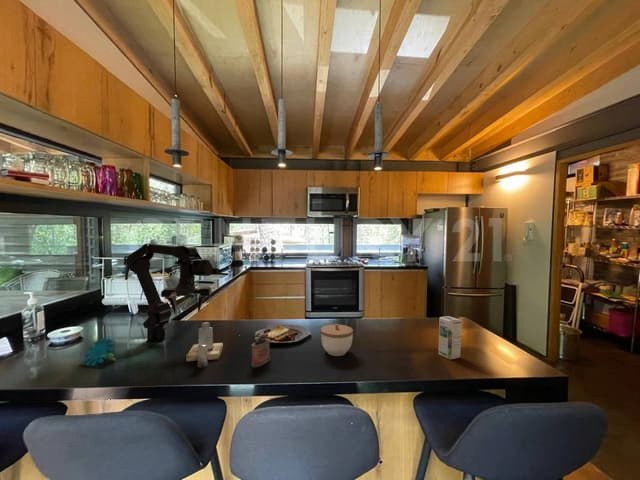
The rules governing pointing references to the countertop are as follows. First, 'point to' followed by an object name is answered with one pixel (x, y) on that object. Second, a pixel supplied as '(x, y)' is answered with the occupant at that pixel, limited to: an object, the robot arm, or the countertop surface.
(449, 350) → the syrup box
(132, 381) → the countertop surface
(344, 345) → the lidded bowl
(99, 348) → the teal lumpy clump
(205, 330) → the square bit
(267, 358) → the lighter
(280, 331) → the food plate
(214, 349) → the socket block
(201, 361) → the round peg
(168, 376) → the countertop surface
